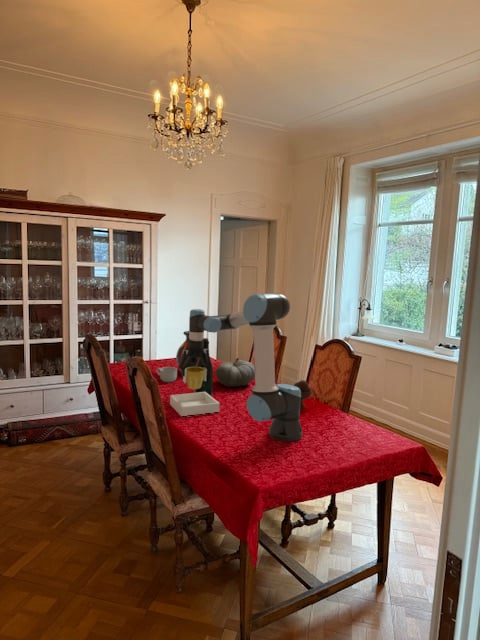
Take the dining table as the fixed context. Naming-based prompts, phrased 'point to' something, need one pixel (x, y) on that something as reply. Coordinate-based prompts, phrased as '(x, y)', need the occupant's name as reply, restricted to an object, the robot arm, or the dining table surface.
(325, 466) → the dining table surface
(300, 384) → the ice cream bowl
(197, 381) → the plant pot
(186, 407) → the bin
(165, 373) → the teacup
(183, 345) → the amphora vase
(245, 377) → the gourd
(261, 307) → the robot arm
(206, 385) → the beer bottle
